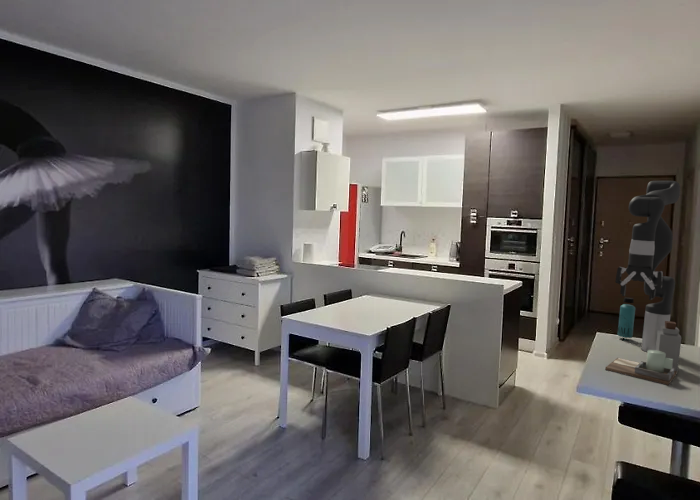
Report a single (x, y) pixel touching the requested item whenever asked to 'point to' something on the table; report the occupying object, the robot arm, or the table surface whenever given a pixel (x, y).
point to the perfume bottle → (669, 342)
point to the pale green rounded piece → (658, 361)
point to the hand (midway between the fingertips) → (636, 297)
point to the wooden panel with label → (641, 371)
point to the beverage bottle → (626, 319)
